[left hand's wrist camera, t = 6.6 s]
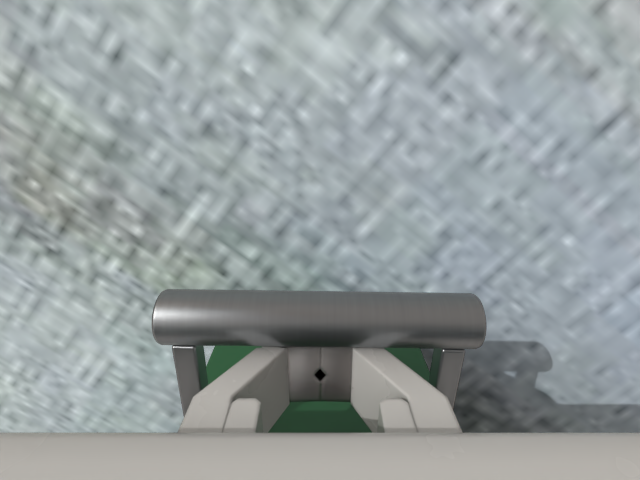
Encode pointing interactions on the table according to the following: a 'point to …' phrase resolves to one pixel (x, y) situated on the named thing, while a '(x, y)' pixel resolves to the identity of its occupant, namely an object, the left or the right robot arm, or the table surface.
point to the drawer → (316, 338)
